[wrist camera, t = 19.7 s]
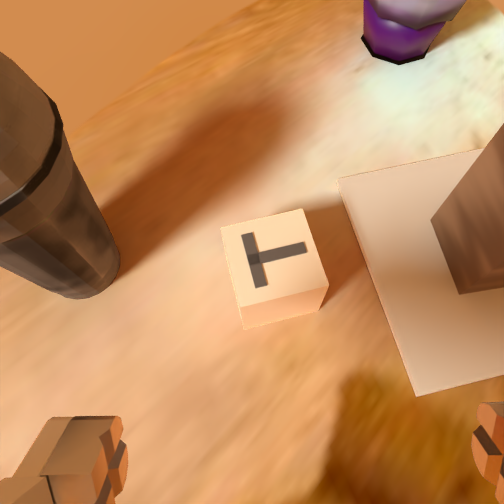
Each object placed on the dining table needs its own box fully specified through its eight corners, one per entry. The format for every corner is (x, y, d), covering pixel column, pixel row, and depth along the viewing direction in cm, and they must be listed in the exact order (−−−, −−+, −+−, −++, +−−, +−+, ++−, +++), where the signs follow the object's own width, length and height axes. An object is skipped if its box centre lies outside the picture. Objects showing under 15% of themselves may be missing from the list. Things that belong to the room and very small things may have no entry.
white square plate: (651, 337, 23) (659, 335, 23) (416, 397, 22) (419, 396, 22) (528, 142, 29) (533, 137, 29) (336, 183, 28) (337, 178, 28)
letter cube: (318, 311, 25) (329, 284, 20) (243, 330, 24) (240, 307, 20) (296, 244, 26) (302, 207, 22) (226, 261, 26) (219, 226, 22)
